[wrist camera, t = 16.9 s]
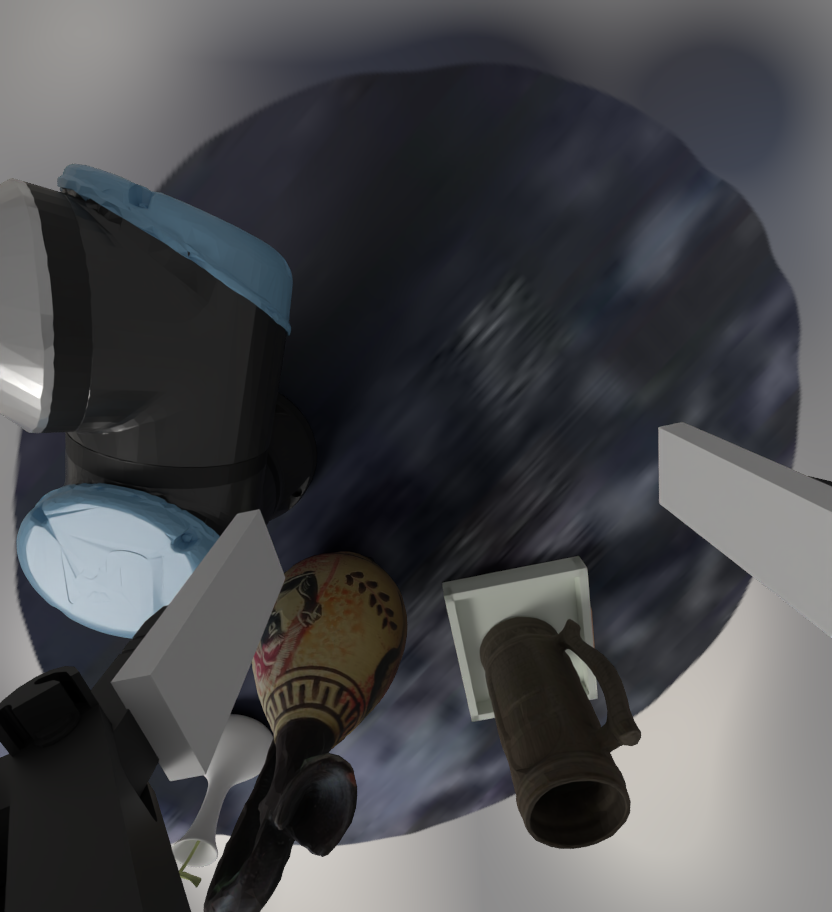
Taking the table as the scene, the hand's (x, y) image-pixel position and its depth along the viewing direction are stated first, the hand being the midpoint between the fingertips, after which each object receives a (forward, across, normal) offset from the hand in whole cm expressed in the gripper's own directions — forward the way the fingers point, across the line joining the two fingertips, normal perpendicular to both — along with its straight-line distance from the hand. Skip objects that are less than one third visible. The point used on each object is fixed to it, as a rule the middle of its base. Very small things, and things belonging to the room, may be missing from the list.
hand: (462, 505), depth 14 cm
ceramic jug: (+32, -15, -24) cm, 43 cm away
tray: (+32, +6, -37) cm, 49 cm away
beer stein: (+31, +7, -37) cm, 49 cm away
